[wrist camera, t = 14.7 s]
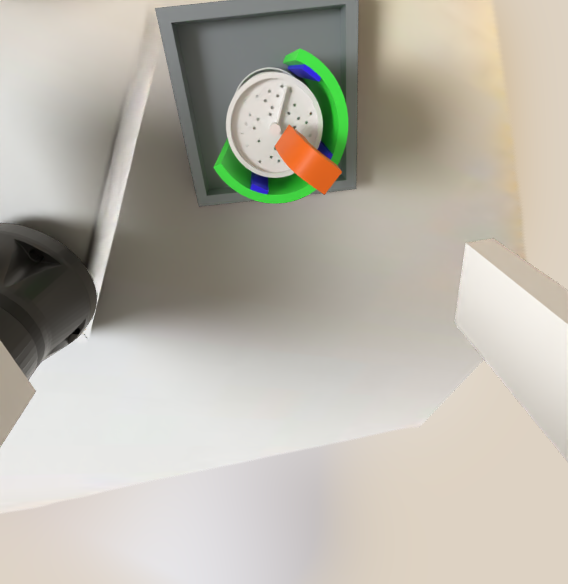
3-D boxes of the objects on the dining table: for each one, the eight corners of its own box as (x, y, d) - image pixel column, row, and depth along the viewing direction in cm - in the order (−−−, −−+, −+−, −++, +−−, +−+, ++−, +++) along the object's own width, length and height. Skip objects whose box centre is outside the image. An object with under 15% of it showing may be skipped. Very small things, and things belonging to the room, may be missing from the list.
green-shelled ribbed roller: (255, 37, 32) (257, 13, 17) (335, 84, 34) (401, 99, 19) (218, 139, 36) (192, 194, 21) (291, 174, 38) (316, 248, 23)
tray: (202, 197, 40) (198, 206, 37) (163, 12, 31) (154, 8, 29) (349, 181, 40) (356, 188, 37) (350, -8, 31) (358, -14, 29)
